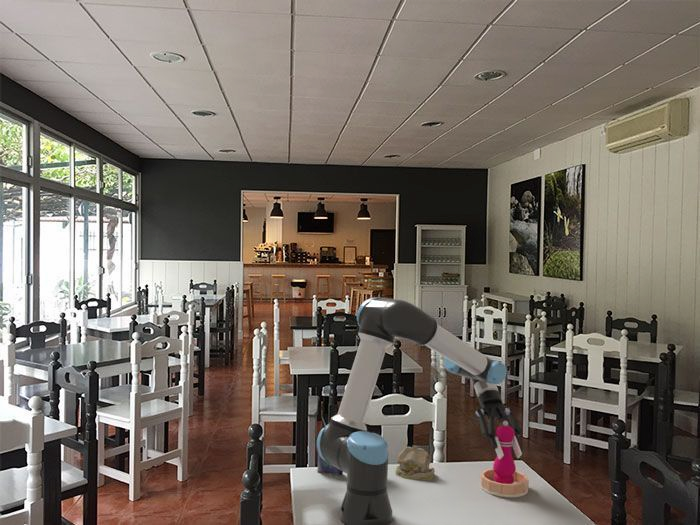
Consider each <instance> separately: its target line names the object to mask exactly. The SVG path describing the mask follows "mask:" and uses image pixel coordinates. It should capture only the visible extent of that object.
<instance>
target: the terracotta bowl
mask: <svg viewBox="0 0 700 525" xmlns="http://www.w3.org/2000/svg"><path fill="white" fill-rule="evenodd" d="M495 474H496V473H495V471H494V469H493V468H487V469H484V470H482V471H481V472H480V477H479V478H480V480H479V482H480V487H481V489H482V491H484V492H485V493H486V494H489V495H492V496H495V497H500V498H507V499H508V498H509V499H512V498H521V497H524V496H526V495H527V494H528V491H529V486H530V485H529V484H530V483H529V482H530V480H529V478H528V476H527V475H526V474H524V473H522V472H520V471H518V470H516V471H515V473H514V474H513V476H514V483H513V484H502V483H498V482H495V480H494V475H495Z"/></svg>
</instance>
